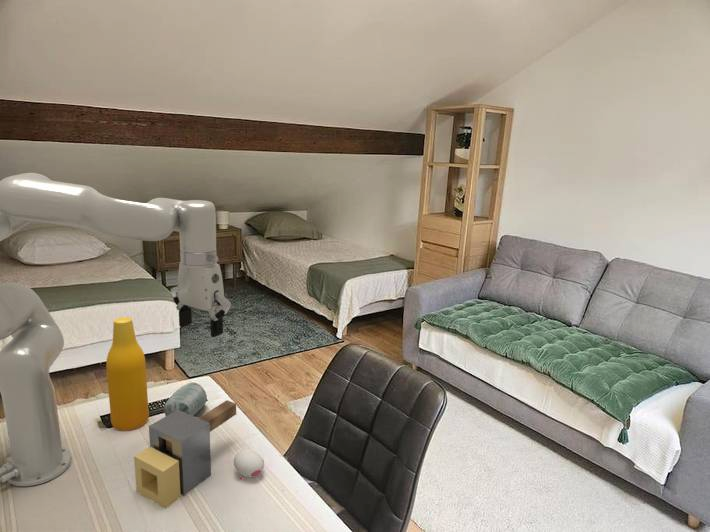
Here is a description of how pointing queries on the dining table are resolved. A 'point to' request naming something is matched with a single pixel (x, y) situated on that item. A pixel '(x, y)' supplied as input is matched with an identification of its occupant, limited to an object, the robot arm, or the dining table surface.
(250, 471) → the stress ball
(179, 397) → the spool
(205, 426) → the block
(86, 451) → the dining table surface
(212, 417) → the shaft
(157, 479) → the block
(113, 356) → the beer bottle
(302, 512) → the dining table surface
